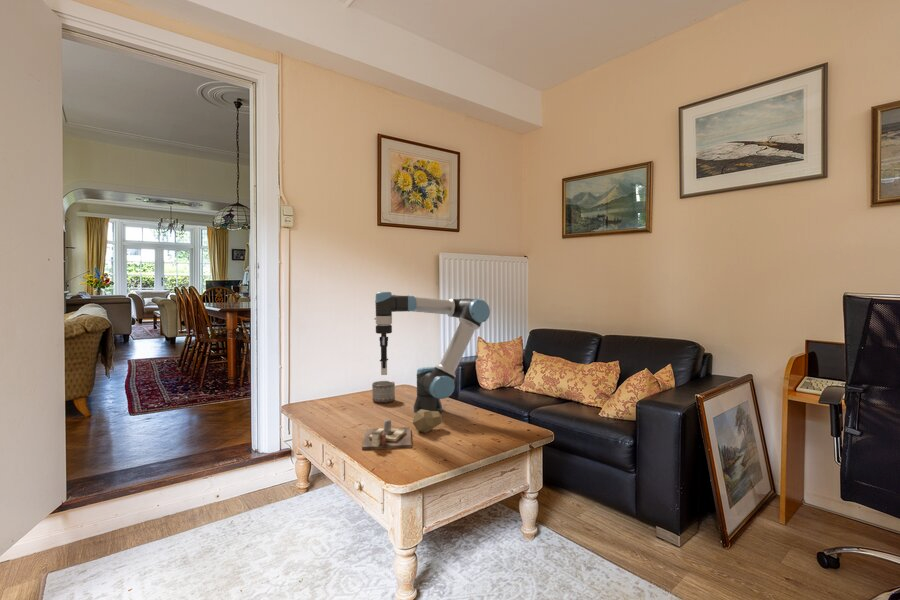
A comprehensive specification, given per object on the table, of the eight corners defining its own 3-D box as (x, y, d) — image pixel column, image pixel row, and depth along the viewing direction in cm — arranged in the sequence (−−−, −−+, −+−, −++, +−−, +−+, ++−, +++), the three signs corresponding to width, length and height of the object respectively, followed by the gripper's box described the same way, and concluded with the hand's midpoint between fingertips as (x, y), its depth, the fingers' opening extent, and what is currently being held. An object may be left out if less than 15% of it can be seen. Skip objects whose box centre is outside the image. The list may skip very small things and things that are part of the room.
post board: (410, 429, 201) (410, 412, 201) (411, 447, 179) (411, 428, 179) (366, 431, 199) (366, 414, 198) (362, 449, 177) (361, 430, 177)
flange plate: (380, 429, 196) (380, 418, 196) (405, 432, 193) (405, 420, 193) (361, 445, 178) (360, 432, 178) (388, 448, 175) (388, 434, 175)
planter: (373, 398, 256) (373, 381, 255) (394, 397, 257) (394, 380, 257) (371, 404, 243) (371, 386, 243) (394, 403, 244) (394, 385, 244)
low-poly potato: (410, 436, 193) (430, 427, 189) (404, 412, 198) (424, 403, 194) (428, 436, 206) (448, 427, 201) (422, 413, 210) (442, 404, 206)
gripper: (376, 323, 211) (376, 372, 212) (374, 326, 198) (375, 377, 199) (392, 323, 212) (392, 371, 213) (391, 326, 199) (391, 377, 200)
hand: (384, 374), depth 206 cm, fingers closed
